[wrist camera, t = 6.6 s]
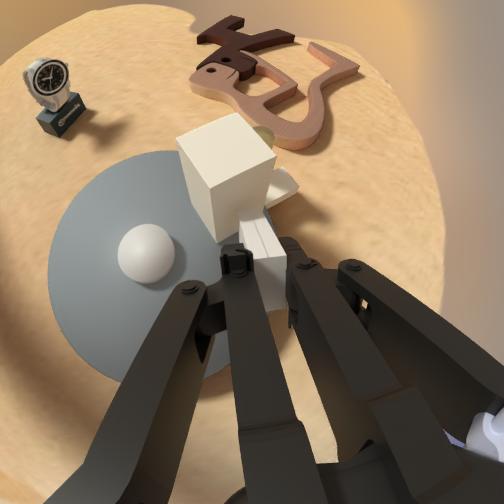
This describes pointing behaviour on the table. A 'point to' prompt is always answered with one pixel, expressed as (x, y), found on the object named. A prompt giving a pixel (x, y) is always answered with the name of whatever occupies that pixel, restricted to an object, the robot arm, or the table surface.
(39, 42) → the table surface
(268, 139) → the gold domed cylinder
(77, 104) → the watch
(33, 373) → the table surface
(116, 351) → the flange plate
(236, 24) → the wood carving
